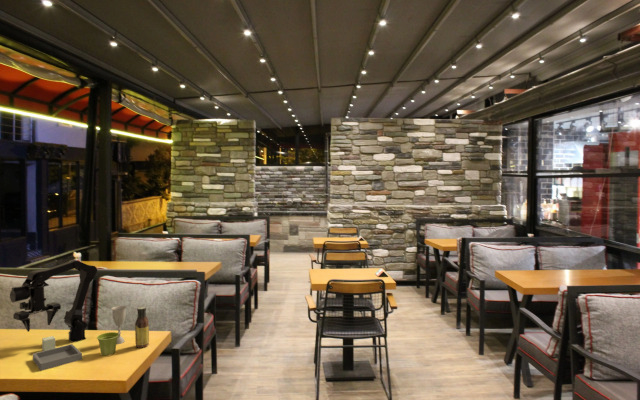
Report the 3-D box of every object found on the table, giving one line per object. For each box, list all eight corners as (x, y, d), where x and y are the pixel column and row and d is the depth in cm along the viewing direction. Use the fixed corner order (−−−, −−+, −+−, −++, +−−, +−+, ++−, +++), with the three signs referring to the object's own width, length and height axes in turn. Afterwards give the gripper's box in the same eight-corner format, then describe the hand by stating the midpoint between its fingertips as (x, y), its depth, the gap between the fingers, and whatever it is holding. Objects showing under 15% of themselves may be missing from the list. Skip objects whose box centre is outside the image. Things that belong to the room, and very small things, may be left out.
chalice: (130, 340, 208) (129, 306, 207) (119, 345, 201) (119, 310, 201) (119, 339, 210) (118, 305, 210) (108, 343, 204) (108, 308, 203)
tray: (72, 350, 195) (72, 344, 195) (82, 359, 184) (81, 353, 184) (32, 359, 184) (32, 353, 184) (40, 370, 173) (40, 364, 173)
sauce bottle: (138, 343, 203) (137, 305, 203) (150, 343, 204) (150, 305, 203) (133, 349, 197) (132, 309, 196) (146, 348, 197) (145, 309, 197)
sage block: (53, 347, 198) (53, 335, 198) (55, 350, 195) (55, 338, 195) (42, 350, 195) (42, 338, 195) (44, 353, 192) (44, 340, 192)
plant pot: (123, 351, 194) (123, 333, 194) (105, 358, 185) (105, 340, 185) (110, 348, 198) (110, 331, 198) (92, 355, 189) (92, 337, 189)
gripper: (48, 290, 205) (49, 319, 205) (6, 299, 188) (8, 332, 189) (60, 292, 200) (62, 322, 200) (19, 302, 183) (20, 336, 184)
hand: (38, 328), depth 193 cm, fingers open, 9 cm apart
